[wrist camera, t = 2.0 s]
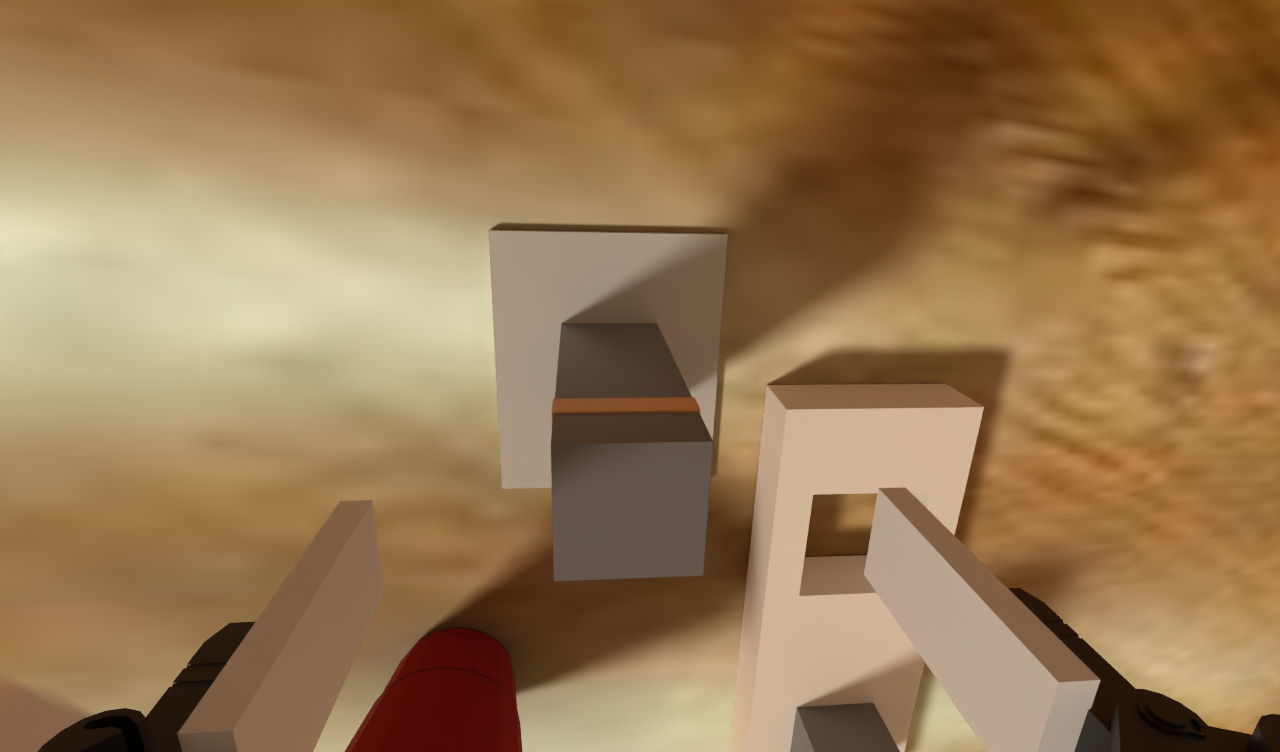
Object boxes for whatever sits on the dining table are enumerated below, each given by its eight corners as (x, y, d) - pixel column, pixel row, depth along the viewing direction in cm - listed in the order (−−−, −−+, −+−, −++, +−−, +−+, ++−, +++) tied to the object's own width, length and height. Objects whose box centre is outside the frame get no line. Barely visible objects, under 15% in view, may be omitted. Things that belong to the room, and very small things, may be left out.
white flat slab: (489, 229, 26) (488, 230, 25) (725, 233, 27) (728, 234, 26) (503, 484, 30) (502, 488, 29) (707, 479, 31) (709, 483, 30)
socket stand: (766, 385, 29) (940, 597, 15) (946, 383, 30) (1266, 583, 16) (725, 781, 38) (813, 1149, 24) (866, 771, 39) (1029, 1119, 25)
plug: (560, 322, 27) (548, 442, 16) (658, 322, 27) (715, 439, 16) (561, 413, 28) (551, 583, 17) (654, 412, 29) (704, 577, 18)
